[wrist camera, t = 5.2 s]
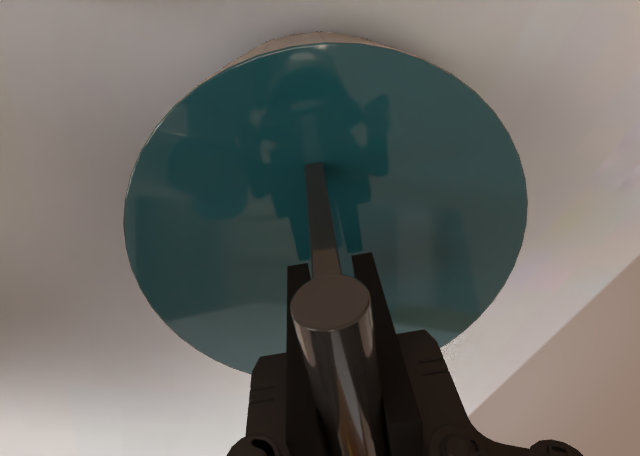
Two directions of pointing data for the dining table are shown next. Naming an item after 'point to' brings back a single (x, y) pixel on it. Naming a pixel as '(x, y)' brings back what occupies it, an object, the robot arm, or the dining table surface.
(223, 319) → the lid
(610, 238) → the dining table surface
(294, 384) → the robot arm
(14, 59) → the dining table surface
